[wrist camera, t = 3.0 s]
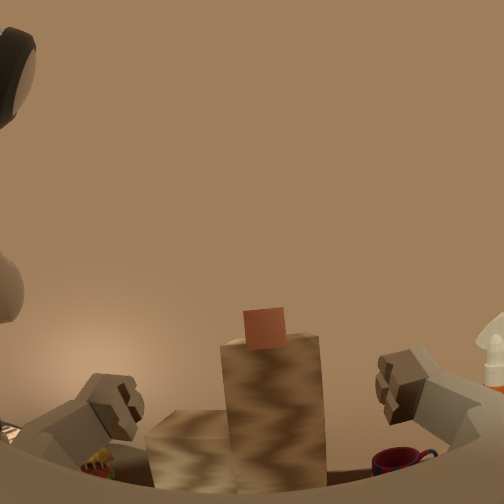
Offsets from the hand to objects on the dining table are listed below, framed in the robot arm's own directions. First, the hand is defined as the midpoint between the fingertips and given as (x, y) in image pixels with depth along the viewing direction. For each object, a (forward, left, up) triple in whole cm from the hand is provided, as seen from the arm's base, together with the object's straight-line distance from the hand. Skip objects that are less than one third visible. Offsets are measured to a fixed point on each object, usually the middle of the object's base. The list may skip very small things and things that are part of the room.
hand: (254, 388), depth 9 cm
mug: (+17, +26, -26) cm, 41 cm away
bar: (0, +22, 0) cm, 22 cm away
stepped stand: (-5, +27, -26) cm, 38 cm away
